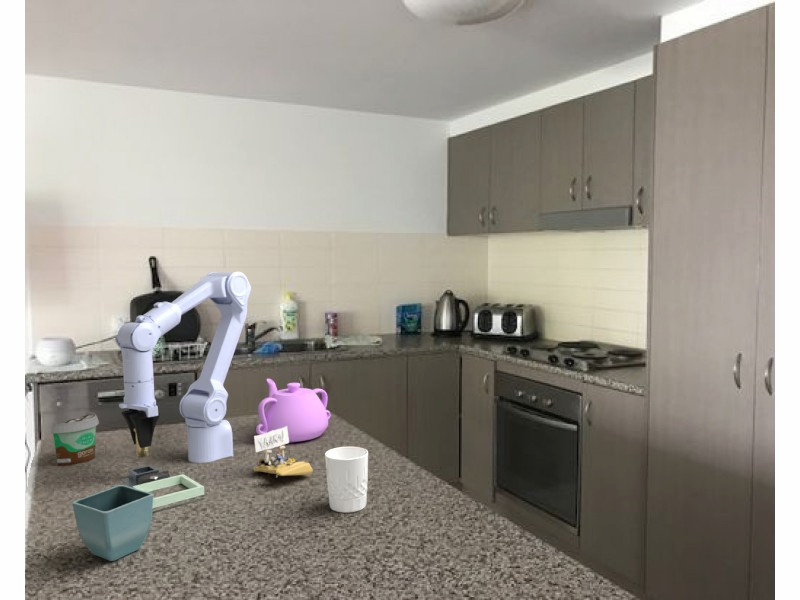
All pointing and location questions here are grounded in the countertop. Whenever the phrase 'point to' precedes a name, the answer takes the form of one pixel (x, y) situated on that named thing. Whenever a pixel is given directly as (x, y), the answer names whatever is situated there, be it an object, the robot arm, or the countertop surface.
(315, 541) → the countertop surface
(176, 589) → the countertop surface
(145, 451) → the pin
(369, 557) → the countertop surface
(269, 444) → the figurine with sign
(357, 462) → the white cup
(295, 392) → the teapot
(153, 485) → the tray
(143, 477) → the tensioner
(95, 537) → the flower pot
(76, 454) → the food container
